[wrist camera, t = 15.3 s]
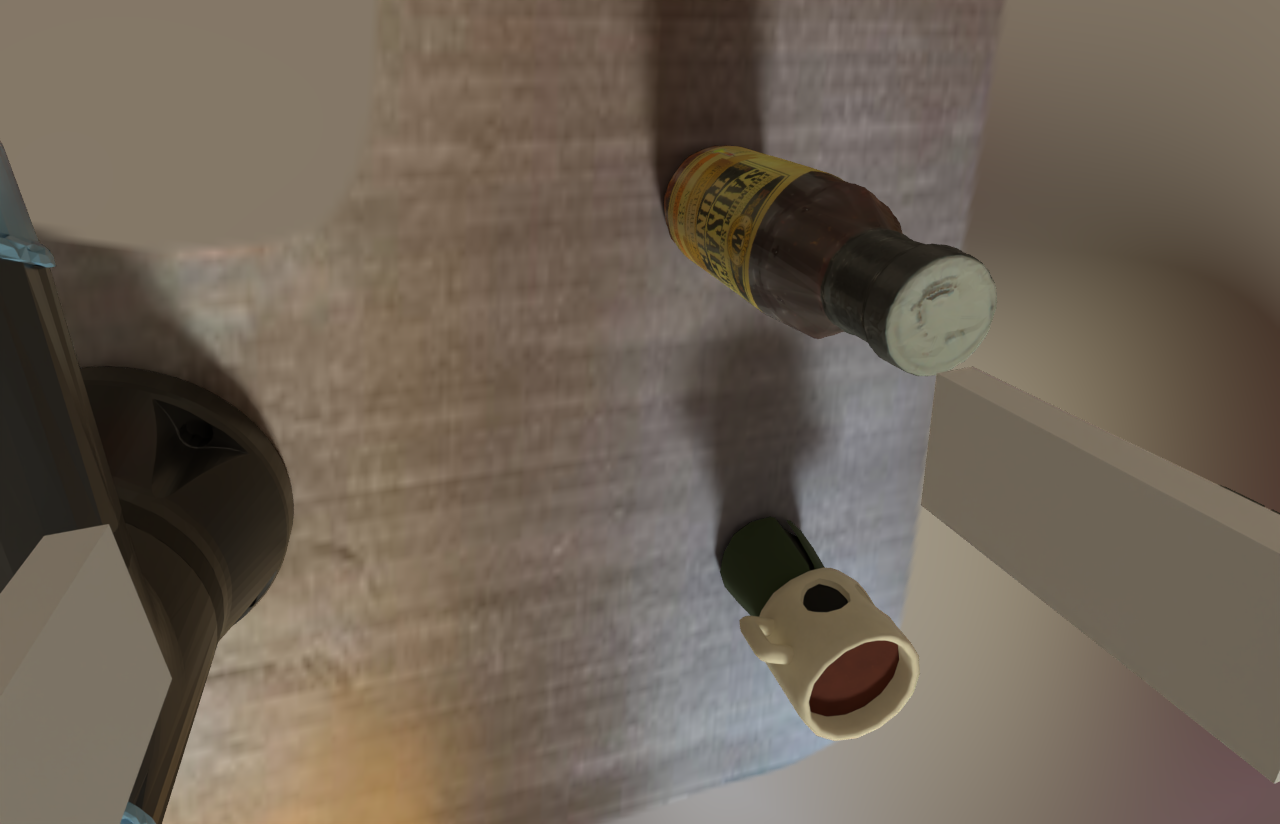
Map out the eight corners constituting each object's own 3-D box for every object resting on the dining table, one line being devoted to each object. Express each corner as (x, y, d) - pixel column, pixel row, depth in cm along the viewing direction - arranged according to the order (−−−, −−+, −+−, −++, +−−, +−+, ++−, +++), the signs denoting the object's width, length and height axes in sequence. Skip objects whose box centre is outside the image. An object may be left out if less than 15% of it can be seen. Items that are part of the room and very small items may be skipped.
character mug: (844, 520, 52) (970, 644, 40) (804, 605, 54) (912, 746, 42) (707, 493, 48) (804, 622, 36) (669, 586, 50) (749, 737, 38)
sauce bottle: (670, 132, 38) (896, 174, 21) (778, 155, 40) (1066, 210, 23) (645, 259, 41) (831, 393, 23) (749, 274, 43) (991, 408, 25)
